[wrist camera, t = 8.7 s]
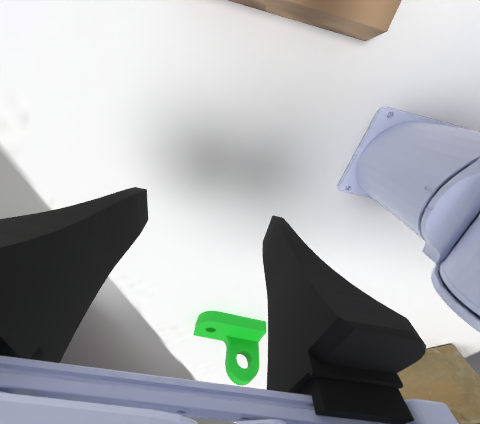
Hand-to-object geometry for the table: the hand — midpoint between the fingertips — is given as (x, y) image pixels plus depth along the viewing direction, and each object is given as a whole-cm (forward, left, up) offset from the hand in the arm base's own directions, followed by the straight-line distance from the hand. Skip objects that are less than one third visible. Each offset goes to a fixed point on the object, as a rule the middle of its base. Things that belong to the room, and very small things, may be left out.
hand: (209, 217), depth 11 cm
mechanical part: (-6, +30, -10) cm, 32 cm away
